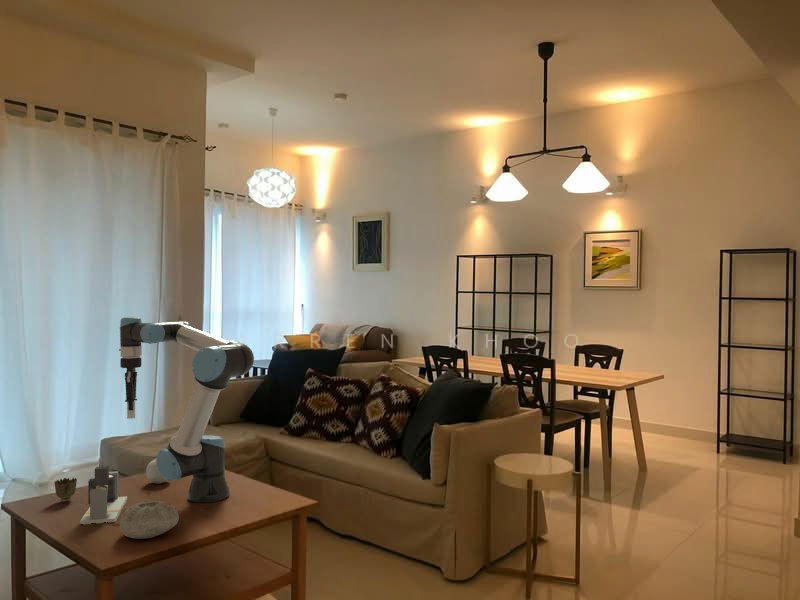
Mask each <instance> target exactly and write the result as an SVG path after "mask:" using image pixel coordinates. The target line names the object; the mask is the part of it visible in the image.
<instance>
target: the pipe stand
mask: <svg viewBox="0 0 800 600" xmlns="http://www.w3.org/2000/svg"><path fill="white" fill-rule="evenodd" d="M109 477H115V501H114V502H112V503H107V495H108V485H101V486H98V487H97V488H96V489H91V490H90V504H89V508H88V509H87V510H86V511H85V513H84V515H83V516H82V518H81V519H80V521H79V525H80V524H83V525H92V524H91V523H96V524H105V523H104V522H106V524H107V522H108V523H116V522H115V521H117V520H118V518H119V516H120V514H121V512H122V510H123V508H124V507H125V504H126V503H127V501H128V496H119V471H109Z"/></svg>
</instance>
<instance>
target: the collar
mask: <svg viewBox="0 0 800 600" xmlns="http://www.w3.org/2000/svg"><path fill="white" fill-rule="evenodd" d="M109 472H110V466H109V465H107V466H105V465H103V466H96V467H95V468H94V478H89V480H88V483H87V484H88V486H87V487H88V489H87V490H88V491H87V492H88V496H87V497H88V499H87V500H88V503H87V504H88V505H90V490H91V489H97V486H98V487H99V486H101V485H108V495H107V503H112V502H114V501H115V477H109Z"/></svg>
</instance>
